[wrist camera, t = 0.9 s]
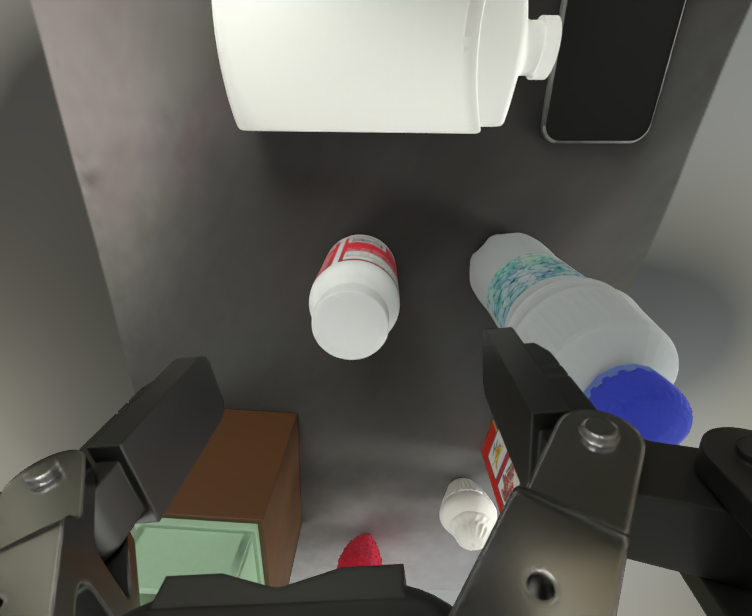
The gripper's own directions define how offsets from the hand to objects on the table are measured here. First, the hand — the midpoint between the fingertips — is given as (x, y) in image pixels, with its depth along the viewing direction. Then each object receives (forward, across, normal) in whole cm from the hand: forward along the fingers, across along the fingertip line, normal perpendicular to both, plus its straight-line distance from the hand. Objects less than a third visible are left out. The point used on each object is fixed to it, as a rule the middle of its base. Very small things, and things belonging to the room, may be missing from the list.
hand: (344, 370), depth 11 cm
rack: (+22, +17, +27) cm, 38 cm away
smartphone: (+21, -18, -12) cm, 30 cm away
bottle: (+22, -11, +4) cm, 25 cm away
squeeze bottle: (+21, -3, -12) cm, 24 cm away
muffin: (+22, -6, +31) cm, 39 cm away
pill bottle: (+22, +1, +3) cm, 22 cm away
